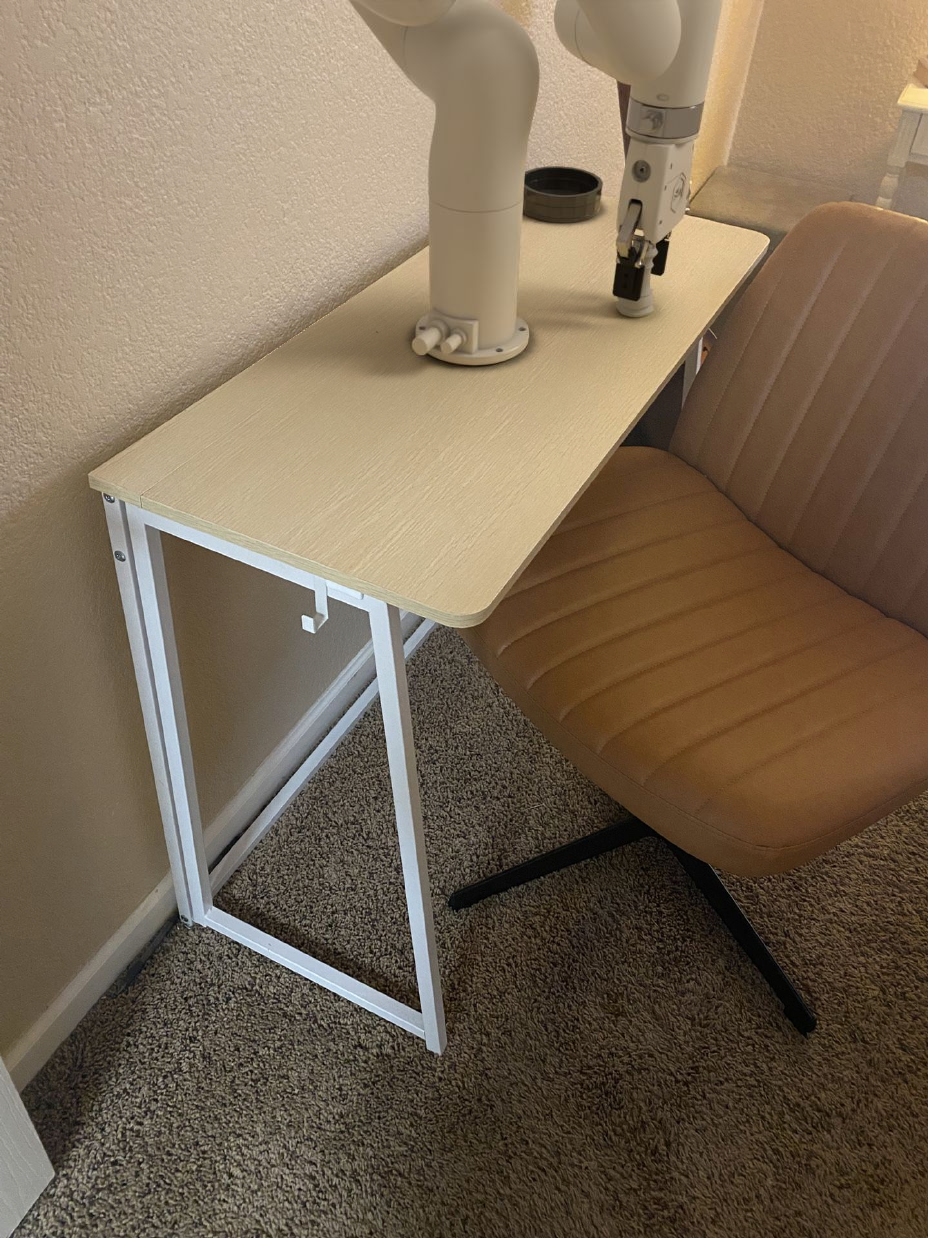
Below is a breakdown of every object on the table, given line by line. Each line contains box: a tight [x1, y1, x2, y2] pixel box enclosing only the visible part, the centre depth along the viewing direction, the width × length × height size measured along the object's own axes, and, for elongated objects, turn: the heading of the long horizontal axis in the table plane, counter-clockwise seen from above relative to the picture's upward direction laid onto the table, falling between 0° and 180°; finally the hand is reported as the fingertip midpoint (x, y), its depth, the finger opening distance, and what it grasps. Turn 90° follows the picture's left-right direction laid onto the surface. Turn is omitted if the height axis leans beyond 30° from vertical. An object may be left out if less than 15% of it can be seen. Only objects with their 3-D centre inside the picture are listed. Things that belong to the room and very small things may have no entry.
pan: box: [523, 165, 604, 224], centre depth 131 cm, size 12×12×4 cm
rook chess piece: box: [615, 241, 658, 318], centre depth 108 cm, size 4×4×8 cm
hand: (638, 283), depth 108 cm, fingers open, 6 cm apart
